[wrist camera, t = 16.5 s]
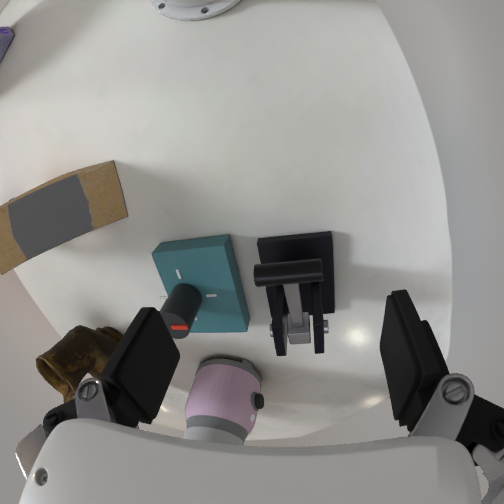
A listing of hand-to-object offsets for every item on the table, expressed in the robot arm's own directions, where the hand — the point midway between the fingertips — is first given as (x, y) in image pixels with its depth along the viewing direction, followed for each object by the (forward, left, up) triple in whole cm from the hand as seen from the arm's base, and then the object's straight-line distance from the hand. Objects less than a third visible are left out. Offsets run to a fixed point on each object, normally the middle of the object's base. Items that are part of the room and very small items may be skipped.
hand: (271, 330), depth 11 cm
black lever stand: (+13, 0, -23) cm, 27 cm away
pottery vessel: (+28, -38, -24) cm, 53 cm away
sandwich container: (-3, -29, -24) cm, 37 cm away
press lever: (+8, 0, -13) cm, 15 cm away
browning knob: (+13, -15, -20) cm, 28 cm away
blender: (+34, -13, -24) cm, 43 cm away
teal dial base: (+13, -13, -23) cm, 30 cm away
